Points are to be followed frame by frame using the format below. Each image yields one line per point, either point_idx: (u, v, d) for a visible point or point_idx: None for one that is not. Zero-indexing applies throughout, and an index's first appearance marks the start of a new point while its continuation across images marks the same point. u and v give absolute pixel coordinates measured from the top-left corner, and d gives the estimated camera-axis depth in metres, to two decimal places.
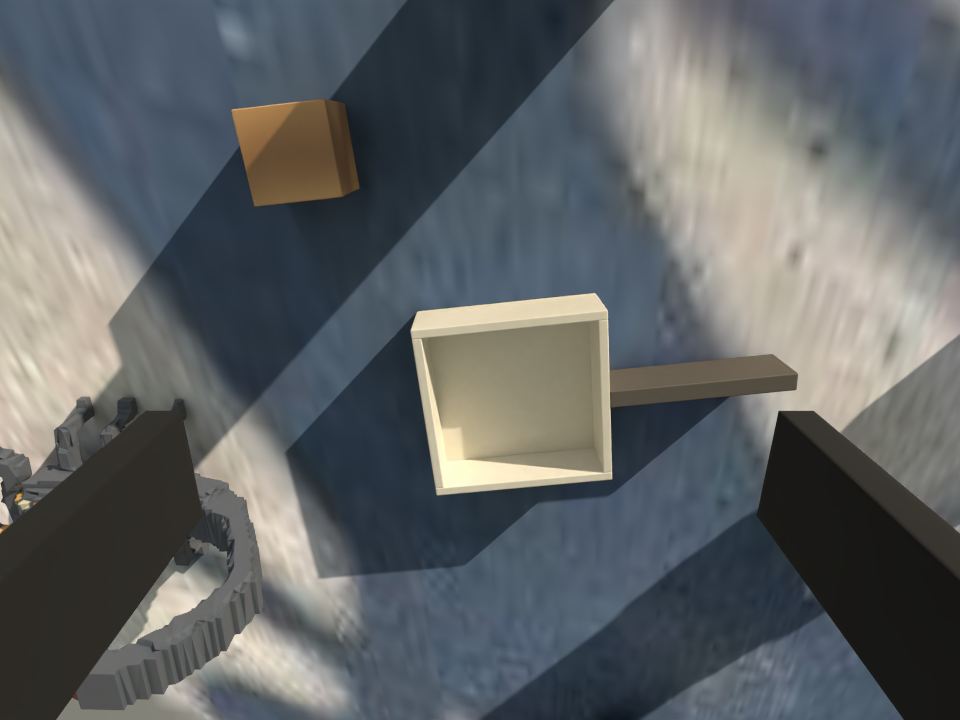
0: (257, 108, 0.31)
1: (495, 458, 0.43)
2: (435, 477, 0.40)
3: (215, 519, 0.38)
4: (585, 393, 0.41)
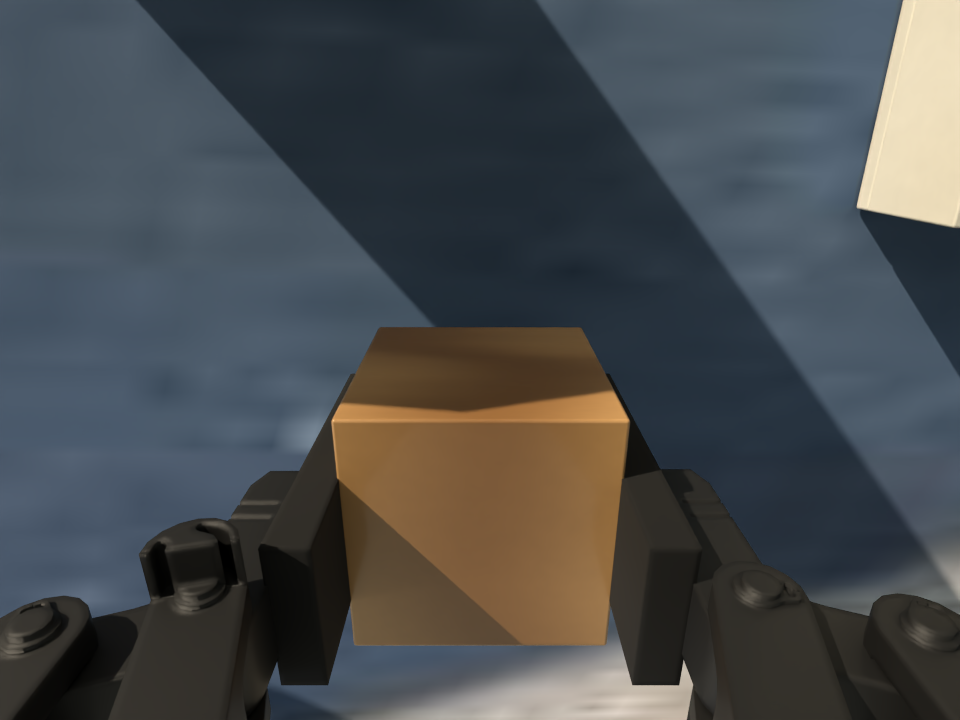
0: (352, 590, 0.11)
1: None
2: None
3: None
4: None
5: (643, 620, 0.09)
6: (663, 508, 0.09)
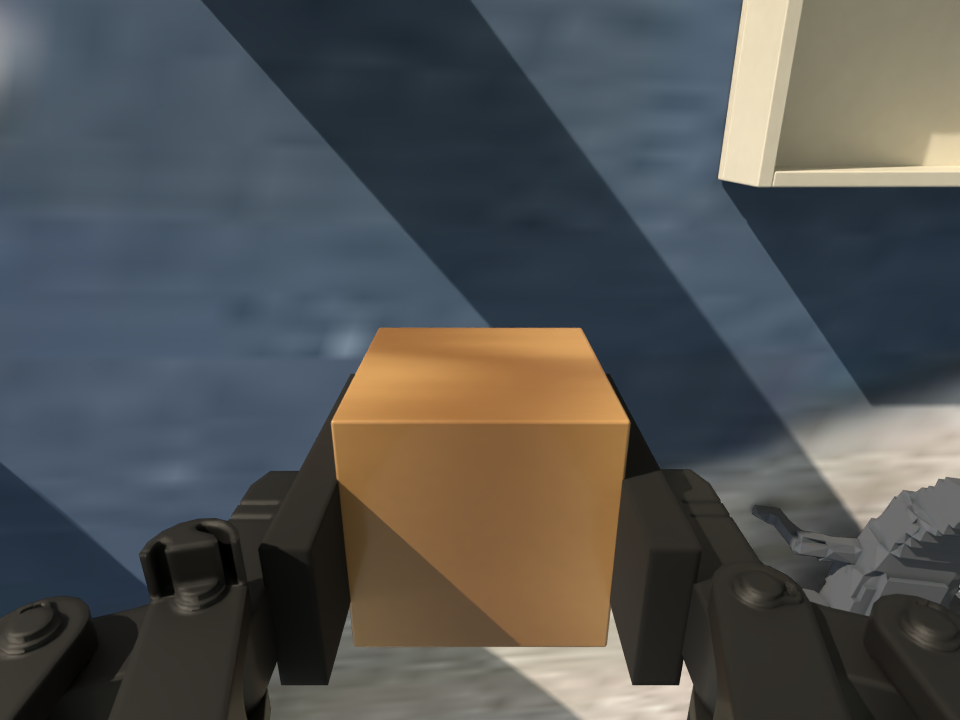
0: (351, 591, 0.11)
1: None
2: None
3: None
4: None
5: (643, 620, 0.09)
6: (663, 508, 0.09)
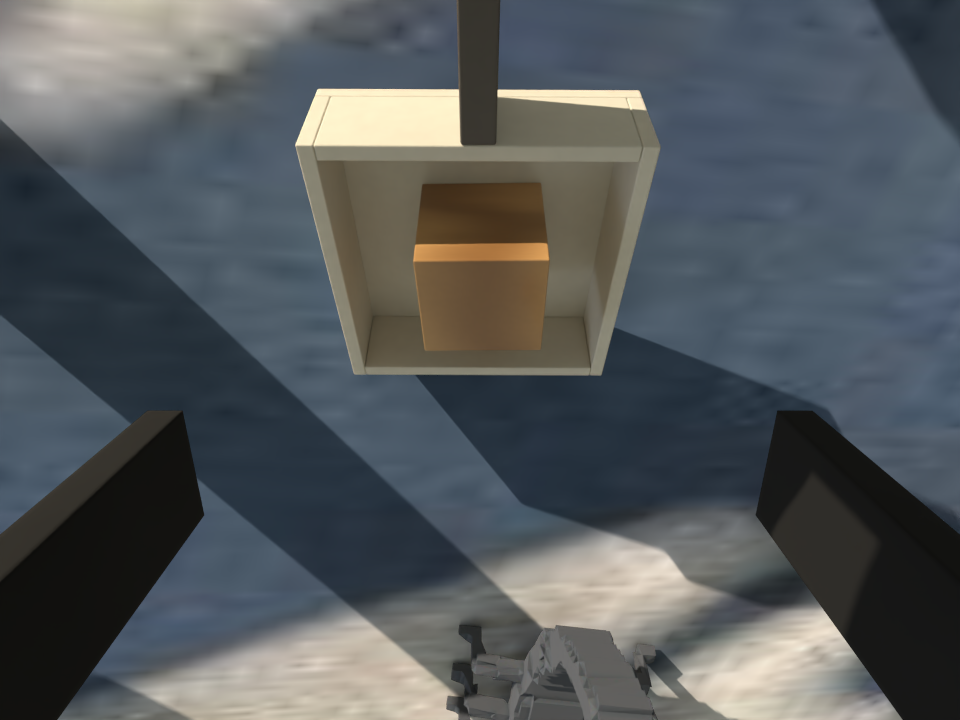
0: (423, 328, 0.24)
1: (594, 267, 0.27)
2: (571, 374, 0.29)
3: (565, 669, 0.32)
4: None
5: None
6: None
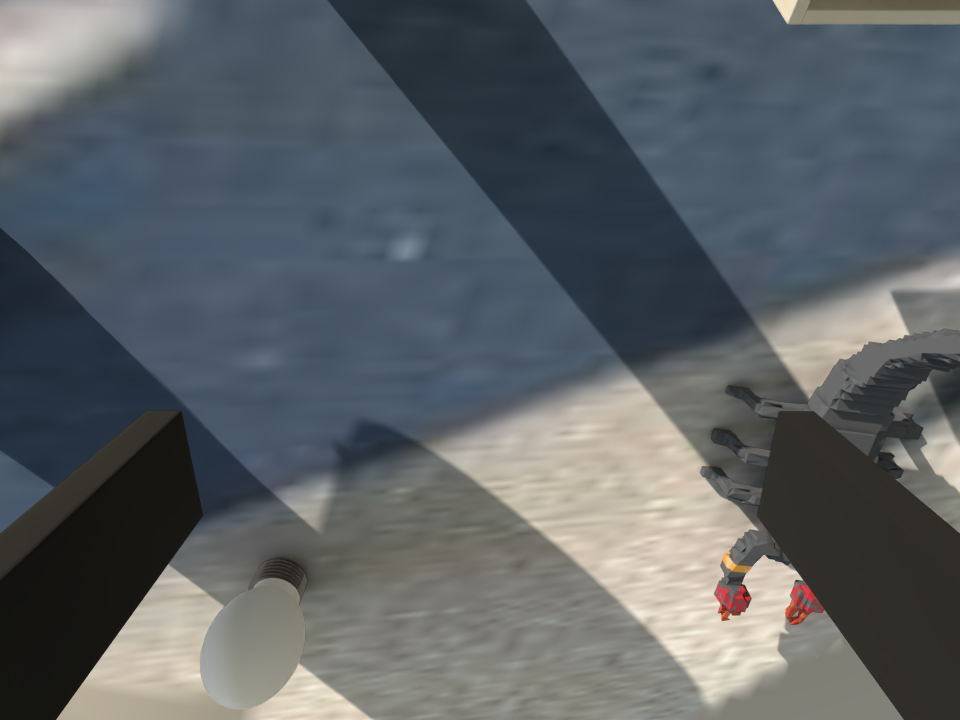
0: None
1: None
2: None
3: (884, 375, 0.34)
4: None
5: None
6: None
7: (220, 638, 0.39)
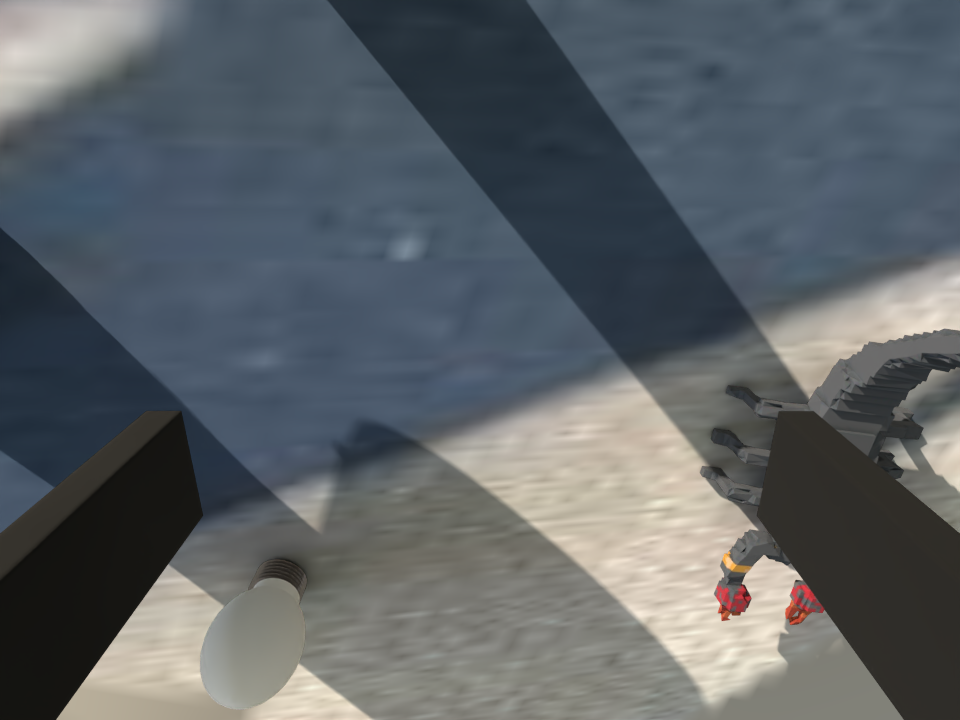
0: None
1: None
2: None
3: (884, 375, 0.34)
4: None
5: None
6: None
7: (220, 638, 0.39)
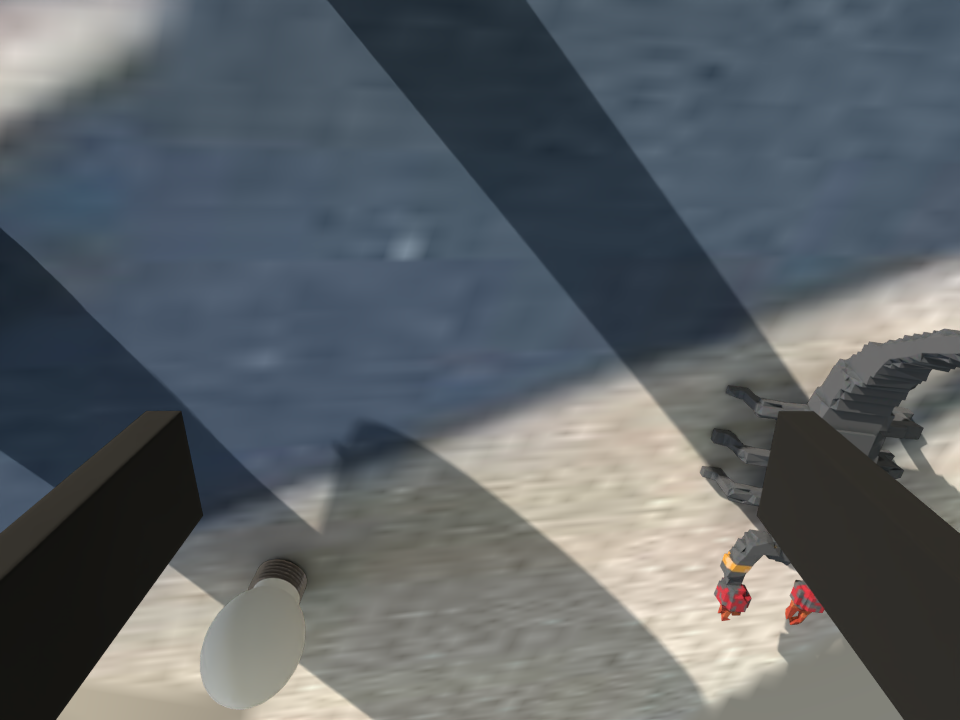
0: None
1: None
2: None
3: (884, 375, 0.34)
4: None
5: None
6: None
7: (220, 638, 0.39)
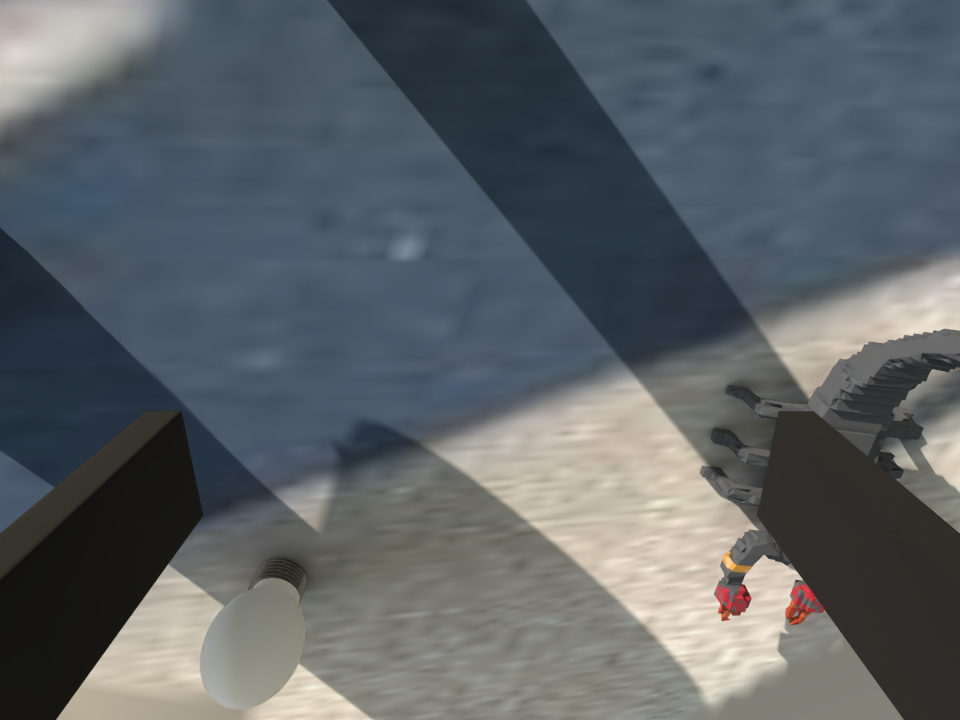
0: None
1: None
2: None
3: (884, 375, 0.34)
4: None
5: None
6: None
7: (220, 638, 0.39)
